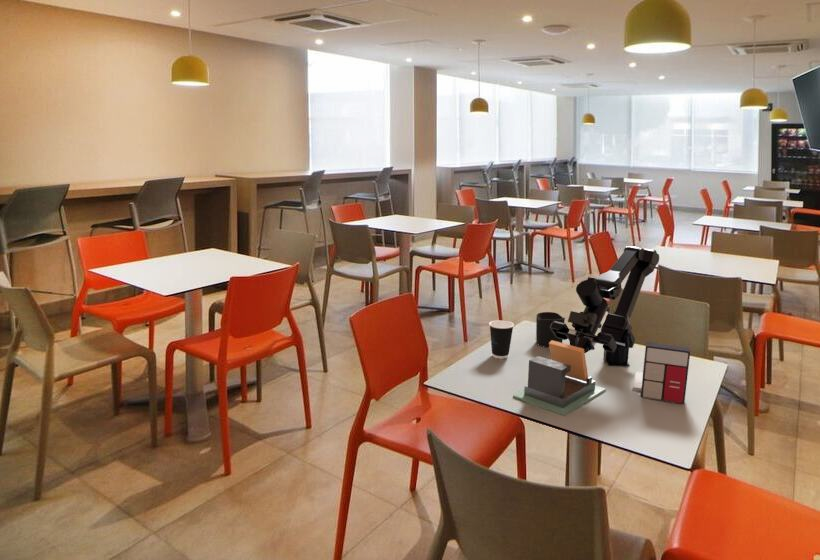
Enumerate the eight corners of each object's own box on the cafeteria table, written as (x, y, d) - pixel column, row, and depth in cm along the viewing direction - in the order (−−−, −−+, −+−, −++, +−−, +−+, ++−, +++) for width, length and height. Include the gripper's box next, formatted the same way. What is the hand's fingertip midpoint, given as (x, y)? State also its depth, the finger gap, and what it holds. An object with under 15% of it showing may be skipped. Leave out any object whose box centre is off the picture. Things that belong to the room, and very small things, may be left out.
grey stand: (557, 377, 181) (559, 344, 178) (594, 389, 173) (597, 354, 170) (524, 394, 169) (525, 359, 167) (562, 408, 161) (565, 371, 158)
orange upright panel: (557, 370, 178) (551, 340, 173) (588, 380, 171) (583, 348, 166) (554, 373, 177) (548, 343, 172) (585, 383, 170) (581, 351, 165)
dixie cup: (516, 354, 201) (517, 322, 199) (507, 362, 194) (509, 329, 192) (493, 350, 205) (494, 318, 202) (484, 357, 198) (485, 325, 196)
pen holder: (565, 341, 214) (567, 314, 211) (559, 350, 206) (561, 321, 203) (538, 337, 218) (540, 310, 215) (532, 346, 209) (533, 317, 207)
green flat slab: (555, 375, 184) (555, 373, 184) (605, 390, 173) (605, 388, 173) (512, 397, 169) (513, 395, 169) (564, 415, 158) (564, 413, 158)
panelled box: (640, 398, 168) (645, 346, 165) (641, 392, 172) (646, 341, 169) (684, 405, 164) (690, 352, 161) (684, 399, 168) (690, 347, 164)
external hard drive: (664, 380, 182) (663, 396, 171) (635, 376, 185) (632, 392, 174) (664, 375, 182) (663, 391, 170) (635, 371, 185) (632, 386, 174)
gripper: (554, 294, 178) (531, 339, 173) (615, 306, 166) (592, 355, 161) (567, 314, 186) (545, 358, 181) (626, 328, 173) (604, 375, 168)
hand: (570, 361), depth 172 cm, fingers closed, pressing on orange upright panel
